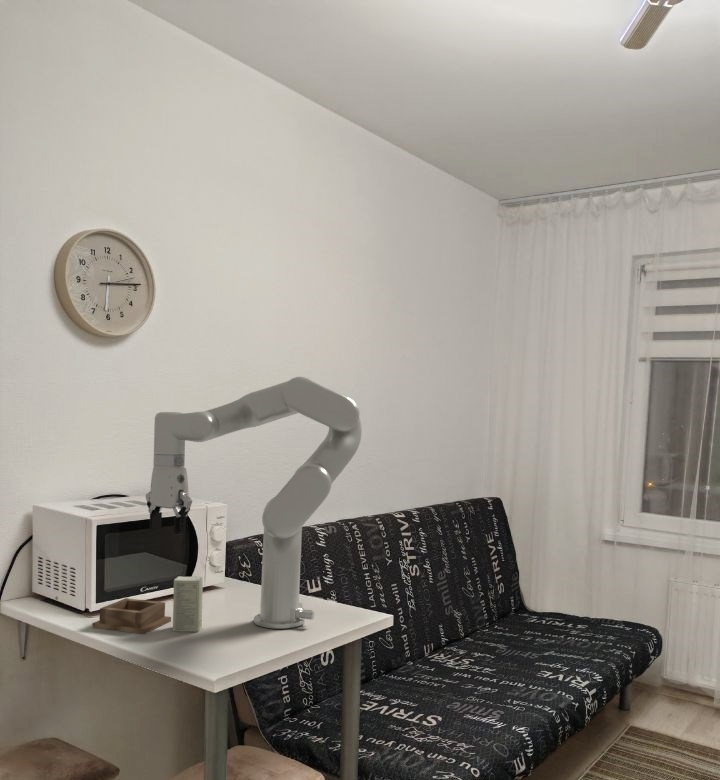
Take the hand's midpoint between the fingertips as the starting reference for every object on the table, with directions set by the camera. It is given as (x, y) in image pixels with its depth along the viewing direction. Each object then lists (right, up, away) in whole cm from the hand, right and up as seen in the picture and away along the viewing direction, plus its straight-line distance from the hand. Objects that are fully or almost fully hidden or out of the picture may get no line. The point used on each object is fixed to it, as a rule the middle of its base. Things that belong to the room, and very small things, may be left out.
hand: (167, 530), depth 192 cm
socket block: (-7, -22, -5) cm, 23 cm away
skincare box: (+7, -22, -8) cm, 24 cm away
